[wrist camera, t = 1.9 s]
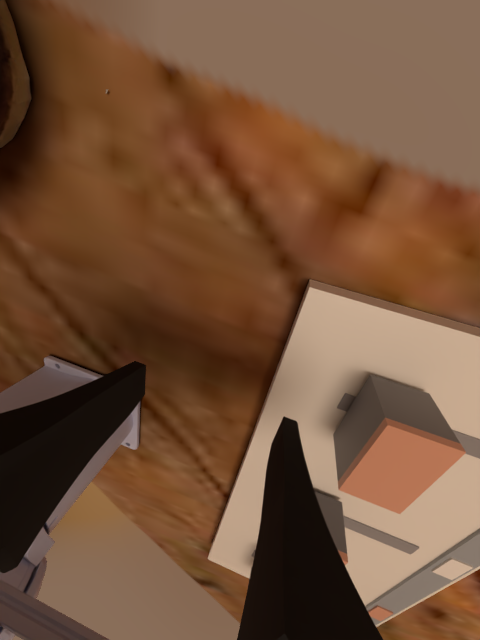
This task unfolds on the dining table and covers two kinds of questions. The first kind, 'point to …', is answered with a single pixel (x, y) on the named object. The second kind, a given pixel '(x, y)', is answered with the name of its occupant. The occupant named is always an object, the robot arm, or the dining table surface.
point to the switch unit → (318, 446)
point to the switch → (392, 445)
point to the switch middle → (334, 522)
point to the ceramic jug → (11, 79)
